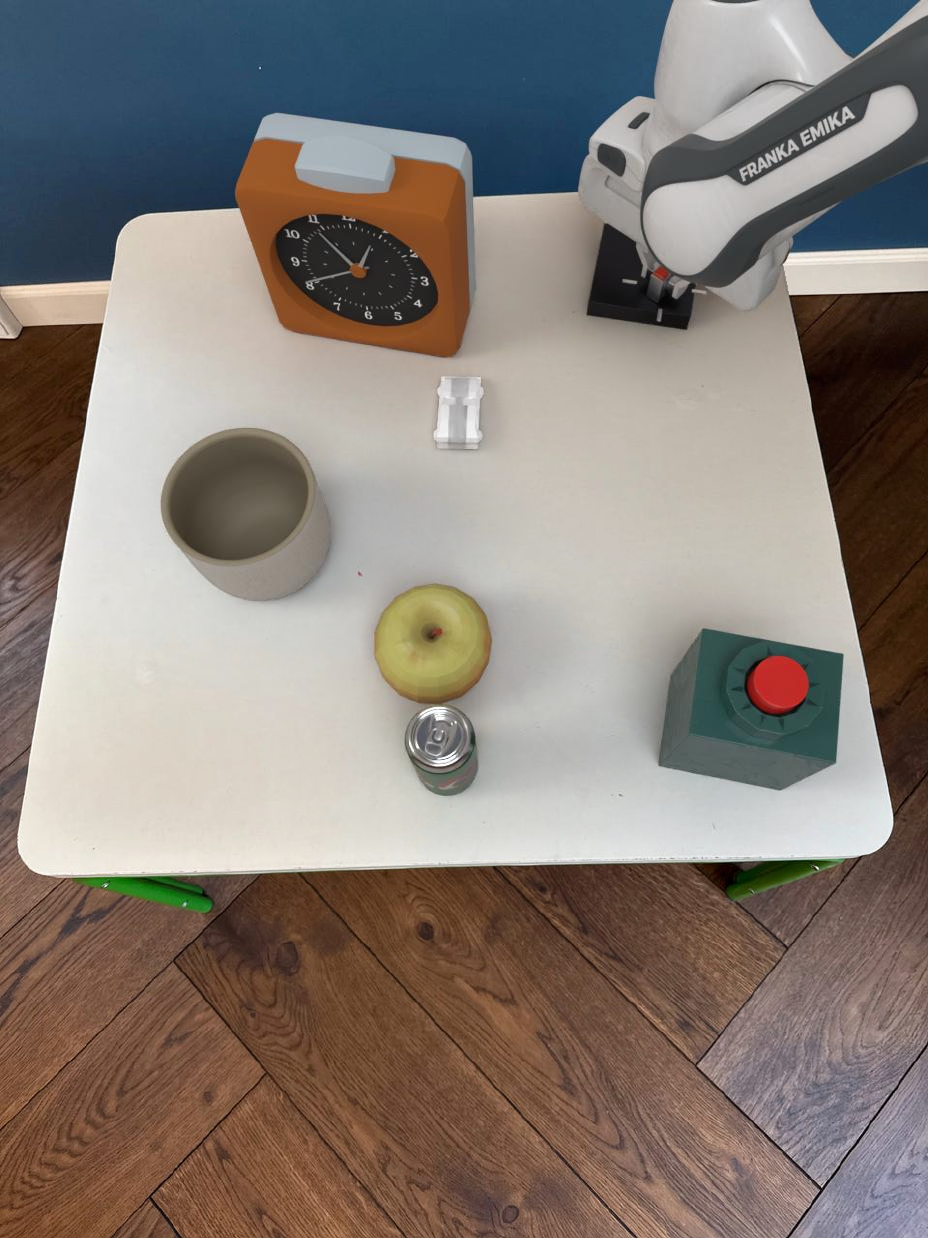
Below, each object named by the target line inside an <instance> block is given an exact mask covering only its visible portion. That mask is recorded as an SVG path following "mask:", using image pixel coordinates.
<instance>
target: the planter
mask: <svg viewBox="0 0 928 1238" xmlns="http://www.w3.org/2000/svg"><path fill="white" fill-rule="evenodd" d="M309 461H310V460H309V459H308V458H307V457H306V455H305V454H304V452H303V451H302V450H301V449H300V448H299V446H297V445H296V444H295V443H293V441H291V440H290V439H288V438H286V437H284V436H283V435H281V434H279V433H276V432H274V431H271V430H267V429H263V428H257V427H234V428H229V429H225V430H221V431H218V432H215V433H212V434H210V435H207V436H205V437H204V438H201V439H200V440H199V441H197V442H196V443H194V444H192V445H191V446H190V447H188V448H187V449H186V451H184V452H183V453H182V454H181V455H180V456H179V457H178V458H177V460H176V461H175V462H174V463H173V465H172V467H171V469H170V470H169V471H168V474H167V476H166V477H165V480H164V483H163V486H162V491H161V495H160V514H161V519H162V523H163V526H164V528H165V530H166V532H167V534H168V536H169V538H170V539H171V541H172V542H173V543H174V544H175V546H176V547H177V548H178V549H179V550H180V551H181V553H182V554H183V555H184V556H185V557H186V558H187V559H188V561H189V562H190V563H191V564H192V566H193V567H194V568H195V569H196V570H197V571H198V572H199V574H201V575H202V576H203V577H204V578H205V580H207V581H208V582H209V583H210V584H212V586H215V588H217V589H219V591H222V592H223V593H225V594H227V595H229V596H232V597H234V598H237V599H241V600H244V601H245V600H246V601H252V602H253V601H254V602H269V601H273V600H279V599H282V598H285V597H287V596H290V595H292V594H294V593H296V592H297V591H299V590H300V589H302V588H303V587H304V586H306V585H307V584H308V583H309V582H310V581H311V580H312V579H314V577H315V576H316V574H317V573H318V572H319V571H320V569H321V567H322V565H323V563H324V561H325V559H326V557H327V553H328V550H329V545H330V539H331V525H330V518H329V513H328V509H327V507H326V502H325V500H324V496H323V493H322V491H321V489H320V486H319V483H318V481H317V477H316V475H315V473H314V470H313V467H312V466H311V463H310V462H309Z"/></svg>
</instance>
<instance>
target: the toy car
mask: <svg viewBox="0 0 928 1238" xmlns="http://www.w3.org/2000/svg"><path fill="white" fill-rule="evenodd" d="M436 395H437V396H438V409H437V410H438V411H437V423H436V428H435V430H434V431H433V433H432V435H433V439H434V441H435V445H436V449H451V450H452V449H453V450H479V443H480V442H481V441H482V440H483V439H484V435H483V434H484V433H483V431H482V430H481V429H480V418H481V417H480V416H481V399H482V398H484V395H485V389H484V387H482V376H455V375H454V376H453V375H452V376H451V375H450V376H449V375H447V376H446V375H444V376H443V375H441V376H440V385H439V386H438V387H437V388H436Z"/></svg>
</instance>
